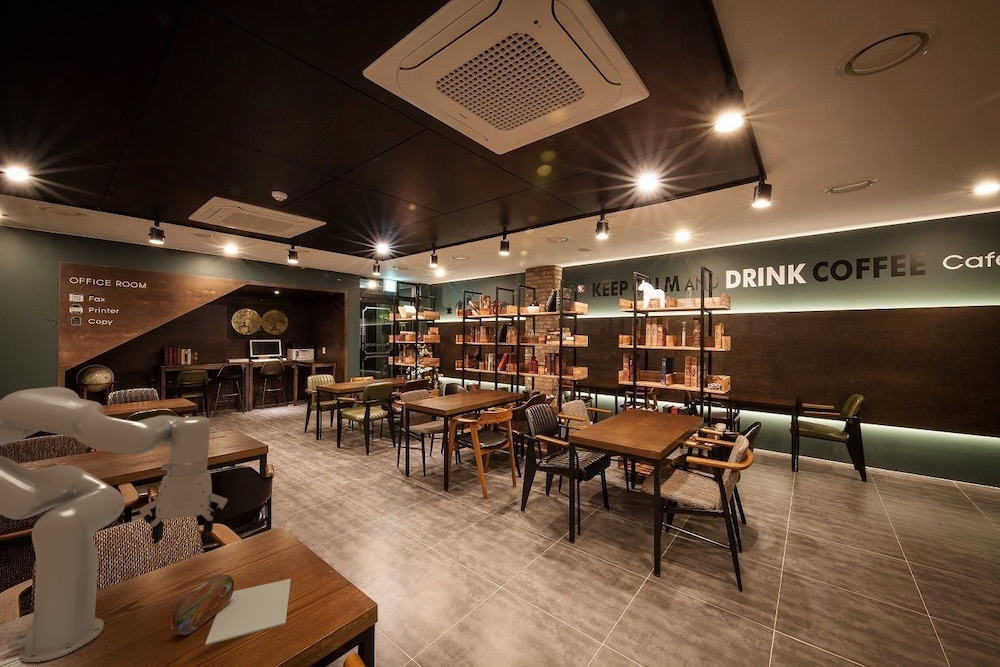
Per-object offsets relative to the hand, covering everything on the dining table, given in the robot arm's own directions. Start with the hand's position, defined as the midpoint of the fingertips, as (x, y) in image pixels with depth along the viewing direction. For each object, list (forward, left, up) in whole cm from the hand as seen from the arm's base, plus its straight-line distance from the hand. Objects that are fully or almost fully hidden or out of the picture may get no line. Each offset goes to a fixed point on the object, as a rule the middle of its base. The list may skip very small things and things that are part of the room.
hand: (182, 538), depth 94 cm
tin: (+5, -1, -21) cm, 21 cm away
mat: (+16, -1, -21) cm, 26 cm away
